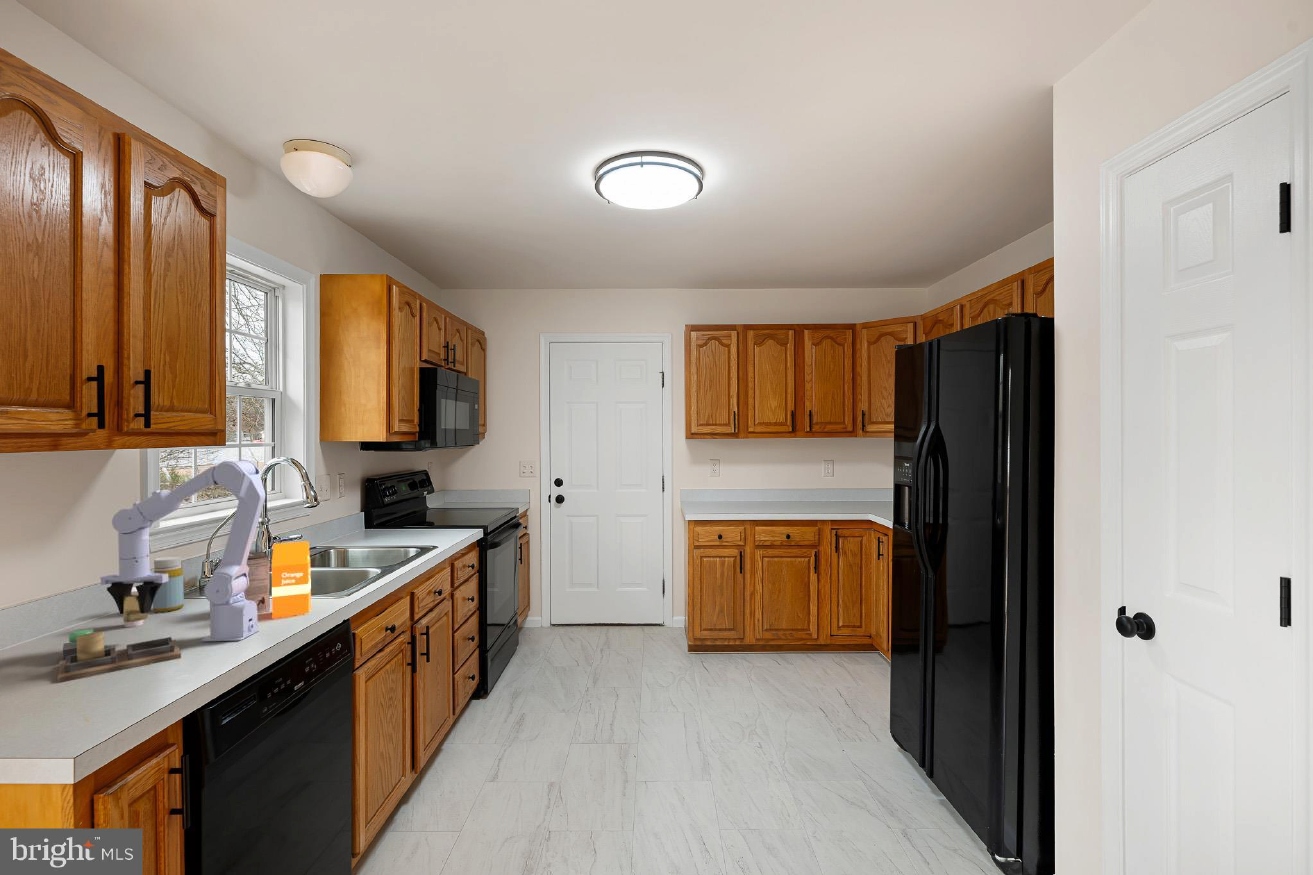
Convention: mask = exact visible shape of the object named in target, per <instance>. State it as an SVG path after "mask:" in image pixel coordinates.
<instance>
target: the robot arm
mask: <svg viewBox="0 0 1313 875" xmlns="http://www.w3.org/2000/svg"><path fill="white" fill-rule="evenodd" d="M211 486H221V487H222V488H224V489H225V490H226V491H229V492H230V493H232V495H233V496H234V497H235V498H236V500H237V501H238V503H237V507H236V510H235V513H234V517H233V520H232V524H231V527H230V530H229V535H228V538H227V539H226V540H227V541H226V545H225V547H224V548H225V549H224V551H223V553H222V554H223V555H222V558H221V562H220V563H219V565H217V567H216V569H214V571H213V573H212V574H213V575H212V577H211V579H210V580H209V581H207V583H206V584H205V586H204V588H203V594H204V597H205V599H206V600H207V601H209V633H210V634H209V635H208V636H206V637H204V638H202V639H201V642H226V641H227V642H230V641H231V642H232V641H233V642H234V641H242V640H244V639H245V638H248V637H250V636H252V635H253V634H256V633H258V632H260V628H258V613H257V605H256V603H255V602H254V601H249V600H246V599H245V595H244V591H245V590H246V589H247V588H248V585H249V579H248V571H249V567H248V566H247V564H246V562H247V559H248V555H249V553H251V552H250V551H251V549H252V545H253V541H254V538H255V534H256V530H257V529H258V528H257V527H258V524H259V520H260V517H261V513H262V510H263V507H264V503H265V501H266V500H265V499H266V491H265V489H264V485H263V482H262V471H261V470H260V468H259V467H258V466H257V465H256V464H255V462H252V461H251V460H249V459H239V460H234V461H233V460H231V461H230V460H228V461H227V460H226V461H222V462H220V463H218V464H217V465H214V466H211V467H209V468H207V469H205V470H204V471H202V472H201V473H199V474H197V475H195V476H194V477H192V478H191V479H188V480H187V481H185V482H183V483H182V484H180V485H179V486H177V487H175V488H174V489H172V490H169V489H162V490H153V491H152V492H151V494H150V495H151V496H149V497H147V498H145V499H144V500H141V501H136V502H134V503H133V504H132V507H131V508H122V509H119V511H117V512H116V513H115V514H113V516H112V520H111V524H112V528H113V529H115V531H117V536H118V538H117V539H118V540H117V541H118V542H117V543H118V574H106V575H102V576H100V585H101V586H102V585H103V586H105V585H110V586H108V587H106V591H107V592H108V593H109V594H110V596H111V597H112V599H114V600H113V601H114V603H115V604H116V607H117V609H118V611H119V615H123V596H125V595H128V594H131V591H132V587H134V584H139V585H135V587H136V589H137V592H138V594H139V598H140V610H141V614H145V613H147V614H148V613H149V612H151V611H152V608H153V601H154V598H155V595H156V593H157V591H158V590H159V588H160V587H161V585H162V583H164V582H167V581H168V574H162V573H154V572H151V569H150V567H151V564H150V562H151V561H150V529H151V527H152V526H153V524H154V523H155V522H157V521H159V520H161V519H163V518H165V517H166V516H168V515H170V514H172V513H173V512H175V511H177V510H178V509H180V506H181V503H182V502H183V501H185V500H186V499H188V498H190V497H192V496H194V495H195V494H198V493H200V492H201V491H203V490H206V489H208V488H210V487H211Z"/></svg>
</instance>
